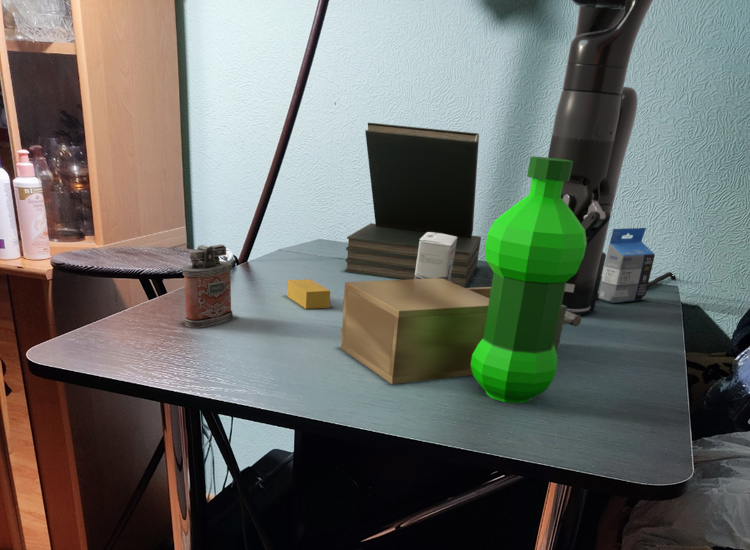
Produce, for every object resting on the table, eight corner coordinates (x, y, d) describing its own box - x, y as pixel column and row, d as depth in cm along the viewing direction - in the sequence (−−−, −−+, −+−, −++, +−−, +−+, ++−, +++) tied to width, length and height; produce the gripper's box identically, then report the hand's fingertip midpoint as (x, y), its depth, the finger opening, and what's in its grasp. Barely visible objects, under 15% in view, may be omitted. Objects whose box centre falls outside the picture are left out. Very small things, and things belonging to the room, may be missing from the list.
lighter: (197, 329, 96) (194, 251, 91) (179, 323, 98) (175, 247, 93) (238, 318, 102) (237, 245, 97) (220, 313, 104) (218, 240, 99)
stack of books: (476, 268, 148) (496, 132, 136) (465, 287, 131) (487, 134, 119) (368, 254, 152) (378, 120, 139) (344, 271, 135) (353, 121, 123)
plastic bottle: (571, 403, 83) (625, 166, 71) (506, 417, 78) (553, 163, 65) (510, 375, 90) (550, 155, 78) (446, 387, 84) (478, 151, 72)
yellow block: (310, 295, 117) (310, 279, 116) (329, 307, 111) (330, 290, 110) (287, 296, 115) (287, 280, 114) (305, 309, 110) (306, 291, 108)
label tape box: (612, 304, 129) (630, 232, 123) (595, 298, 132) (611, 228, 126) (644, 300, 134) (663, 231, 128) (627, 295, 137) (644, 227, 131)
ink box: (441, 326, 107) (451, 243, 101) (408, 322, 108) (416, 239, 102) (447, 312, 114) (458, 234, 109) (416, 308, 115) (425, 230, 109)
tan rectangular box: (434, 340, 100) (442, 278, 96) (492, 373, 90) (504, 304, 86) (340, 348, 94) (344, 281, 90) (391, 384, 84) (399, 310, 80)
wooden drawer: (530, 328, 107) (539, 281, 104) (588, 354, 98) (600, 304, 94) (421, 337, 98) (426, 286, 95) (473, 366, 89) (481, 311, 86)
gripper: (645, 141, 85) (610, 289, 94) (569, 131, 95) (544, 266, 104) (598, 138, 82) (567, 292, 90) (525, 128, 92) (502, 268, 100)
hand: (555, 278), depth 97 cm, fingers closed
